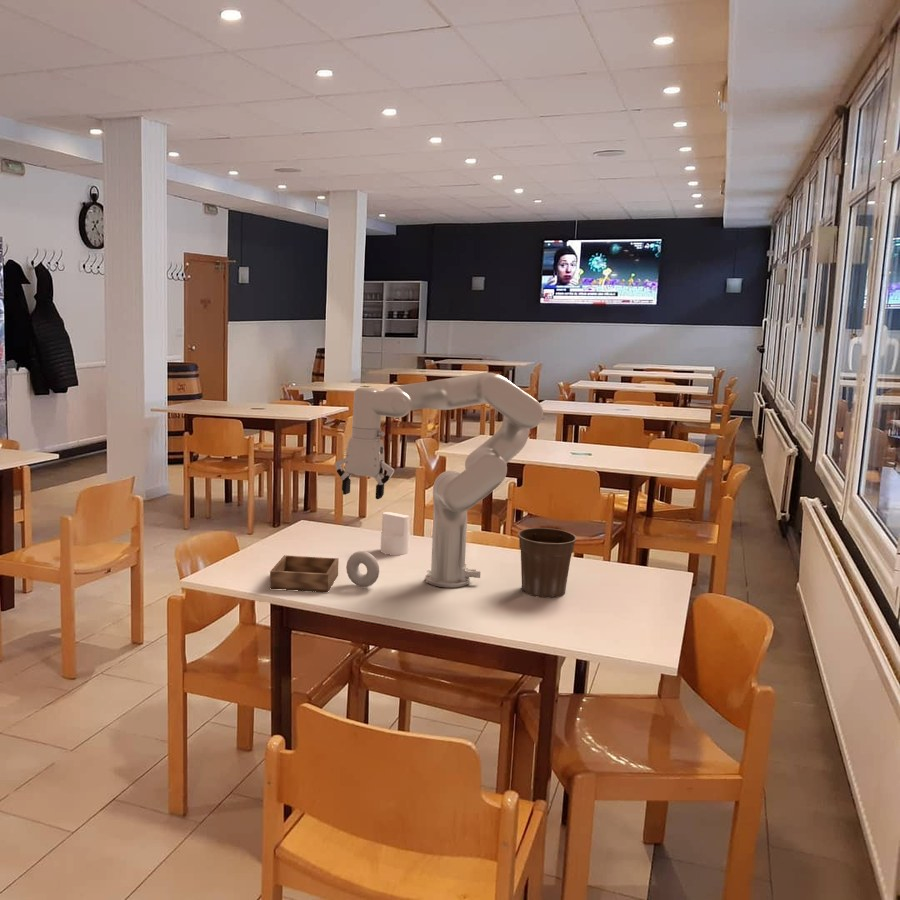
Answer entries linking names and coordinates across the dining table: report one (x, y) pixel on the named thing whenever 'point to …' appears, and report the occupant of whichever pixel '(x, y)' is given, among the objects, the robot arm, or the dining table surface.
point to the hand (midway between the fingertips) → (362, 496)
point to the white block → (395, 533)
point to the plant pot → (545, 560)
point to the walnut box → (304, 573)
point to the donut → (370, 565)
